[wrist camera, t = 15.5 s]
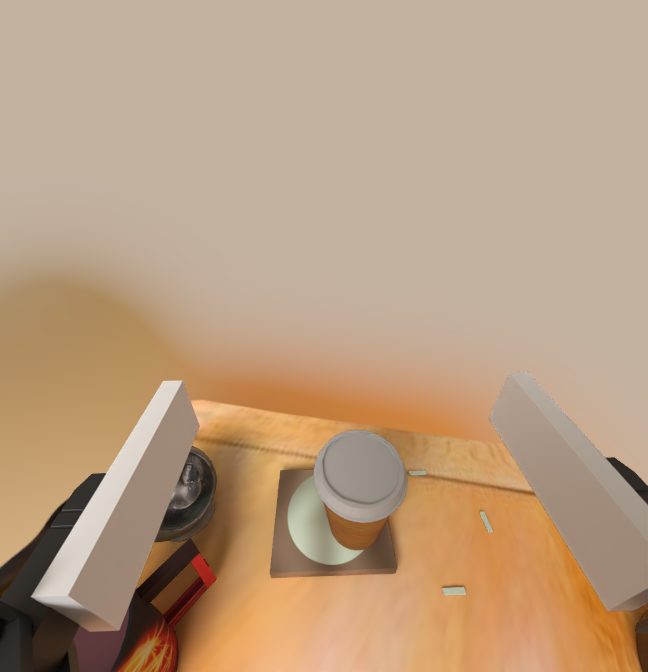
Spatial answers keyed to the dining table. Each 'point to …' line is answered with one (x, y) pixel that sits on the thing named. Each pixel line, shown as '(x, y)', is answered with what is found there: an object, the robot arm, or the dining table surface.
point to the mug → (146, 623)
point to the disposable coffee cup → (359, 485)
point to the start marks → (460, 589)
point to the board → (318, 536)
